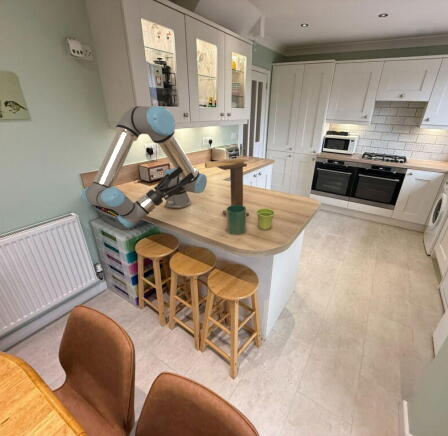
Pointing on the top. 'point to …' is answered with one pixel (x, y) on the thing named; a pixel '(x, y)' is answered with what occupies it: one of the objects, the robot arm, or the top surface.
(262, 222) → the plant pot
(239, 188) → the brown wooden stand
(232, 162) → the stick
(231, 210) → the utensil pot
